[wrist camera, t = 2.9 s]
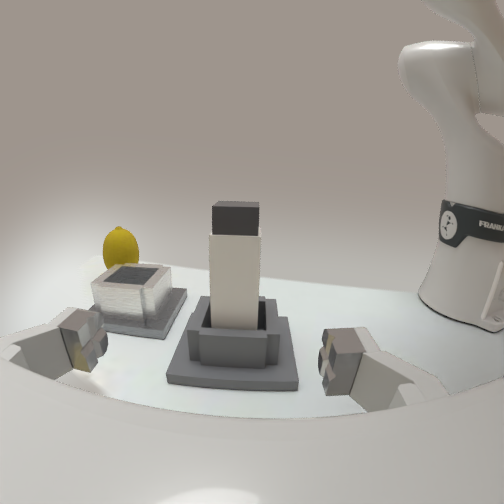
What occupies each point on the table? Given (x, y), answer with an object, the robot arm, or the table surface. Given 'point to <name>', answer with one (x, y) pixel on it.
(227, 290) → the plug
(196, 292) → the table surface
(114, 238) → the lemon
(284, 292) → the table surface
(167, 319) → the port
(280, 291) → the table surface
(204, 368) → the holster
